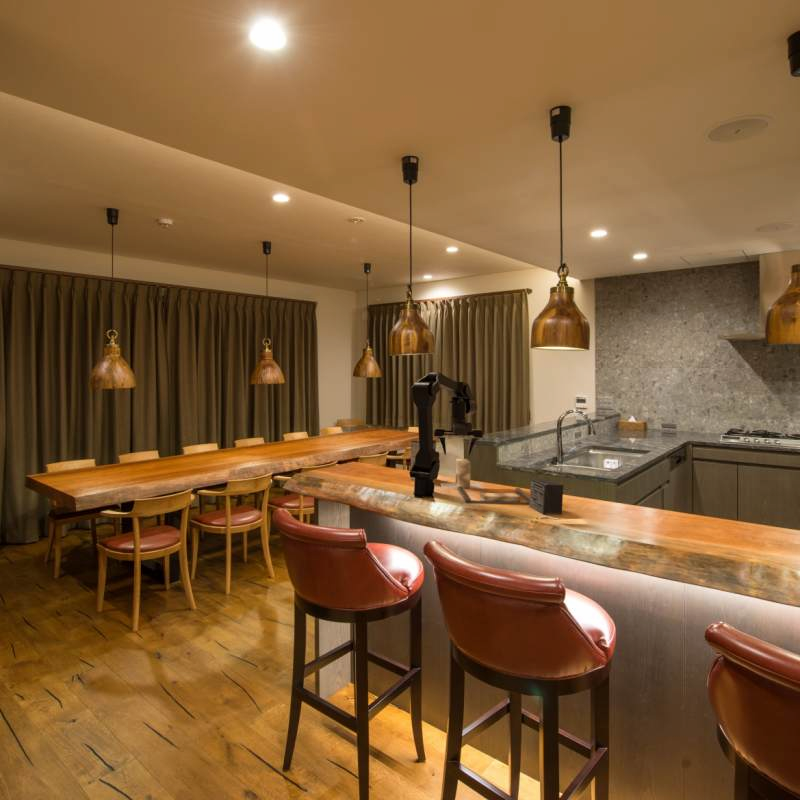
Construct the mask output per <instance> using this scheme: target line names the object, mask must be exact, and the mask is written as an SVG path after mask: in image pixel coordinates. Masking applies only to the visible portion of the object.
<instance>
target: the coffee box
mask: <svg viewBox="0 0 800 800" xmlns="http://www.w3.org/2000/svg"><path fill="white" fill-rule="evenodd" d="M410 444H411V445H410V447H411V448H410V469H411V468H412V466H413V464H414V462H415V456H416V454H417V452H418V450H419V439H413V440H411V443H410ZM436 444H437V440H436V439H435V440H434V439H433V448H434V450H435V451H437V450H436V448H437V445H436ZM421 473H422V472H421ZM427 474H429V473H427ZM411 479H414V477H410V480H411Z"/></svg>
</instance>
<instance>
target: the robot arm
mask: <svg viewBox="0 0 800 800" xmlns="http://www.w3.org/2000/svg"><path fill="white" fill-rule="evenodd" d="M441 389H443V390H446V391H447V394H448V395H449V396H450V397H451V398H450V400H449V401H448V403H449V404H450V403H451V404H450V409H451V410H450V429H448V430H447V429H445V428H442V427H434V426H433V406H434V404H435V402H436V400H437V395H438V393H439V392H440V391H441ZM410 393H411V398H412V399H411V400H412V402H413V404H414V405H415V407H416V409H417V423H418V425H417V427H418V440H419V450H418V452H417V454H416V456H415V462H414V464H413V466H412V468H411V467H410V470H409V477H410V478H411V477H414V480H413V481H414V482H413V497H414V498H434V494H435V482H434V481H435V480H437V479H438V476H439V472H440V463H441V462H440V461H441V460H440V452H439V451H437V450H436V451H435V450H434V448H433V440H434V437H436V439H438V440H439V442H440V443H441V447H442V451H443V453H444V456H447V447H446V437H445V436H464V437H465V436H469V440H468V442H469V443H468V449H467V454H468V455H467V456H471V453H472V451H473V447H474V445H475V444H476V443H477V441H479V440H480V439H481V438H482V439H483V438H484V431H483V430H482V429H479V428H473V423H472V422H467V420H466V419H467V415H473V414H474V413H476V412H477V410H478V404H477V403H476V401H474V397H473V396H474V395H473V393H472V389H471V387H470V384H469V383H468V382H465V381H456V380H454V379H452V378H450V377H448V376H446V375H444V374H443V373H442V372H441V371H440V372H436V371H435V372H434V371H432V372H428V373H427V374H426V375H425V376H423V377H421V378H420V379H418V380H416V381H415V382H414V383H413V385H412V386H411V388H410ZM433 427H434V428H433ZM421 472H422V473H421ZM427 473H429V474H427Z"/></svg>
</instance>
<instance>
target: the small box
mask: <svg viewBox="0 0 800 800" xmlns="http://www.w3.org/2000/svg"><path fill="white" fill-rule="evenodd" d="M529 488H530V491H529V496H530V505H529V508H530V509H533V510H534V511H535V512H537V513H539V514H541V515H543V518H548V517H547V516H552V515H553V516H554V515H555V516H556V515H561V516H562V515H563V500H564V499H563V498H564V484H562V483H559V482H557V481H554V480H552V479H550V478H538V477H537V478H532V477H531V478H530V487H529ZM544 516H546V517H544Z"/></svg>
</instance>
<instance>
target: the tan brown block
mask: <svg viewBox="0 0 800 800" xmlns="http://www.w3.org/2000/svg"><path fill="white" fill-rule="evenodd" d="M455 460H456V463H455V483H456V486H457V487H458V486H459V487H462V488H463V489H471V488H470V484H471V465H472V464H471V461H470V460H468V459H467V458H456V459H455Z"/></svg>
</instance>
